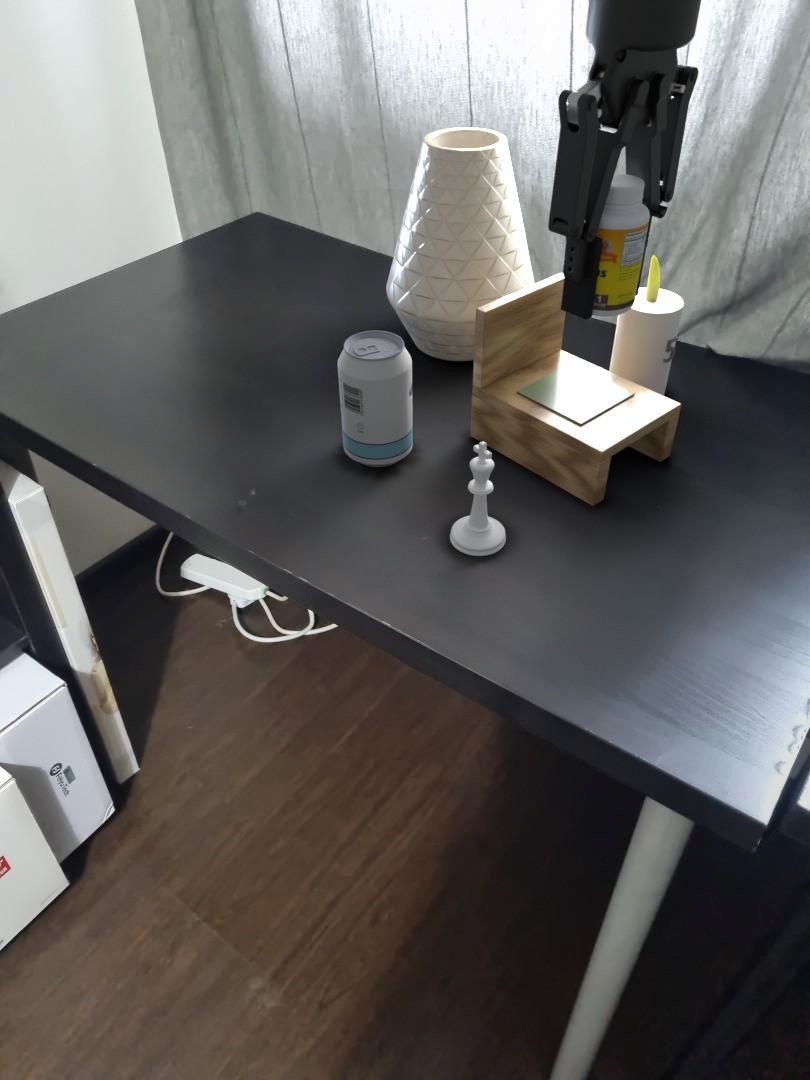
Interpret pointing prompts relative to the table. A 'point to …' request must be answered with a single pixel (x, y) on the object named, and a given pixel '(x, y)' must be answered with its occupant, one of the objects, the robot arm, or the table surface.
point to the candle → (648, 335)
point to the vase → (457, 240)
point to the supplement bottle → (621, 246)
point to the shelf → (557, 397)
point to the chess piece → (479, 512)
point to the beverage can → (376, 398)
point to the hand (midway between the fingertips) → (599, 301)
